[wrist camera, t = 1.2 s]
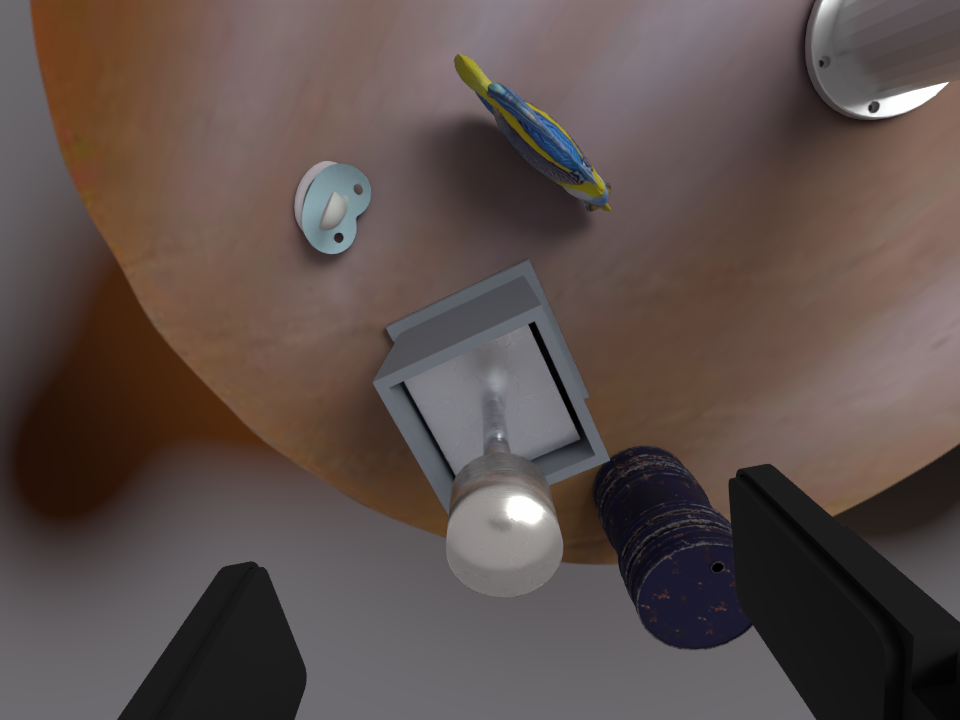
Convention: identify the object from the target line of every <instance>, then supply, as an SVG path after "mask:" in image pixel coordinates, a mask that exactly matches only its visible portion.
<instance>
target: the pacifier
mask: <svg viewBox="0 0 960 720" xmlns="http://www.w3.org/2000/svg"><path fill="white" fill-rule="evenodd" d="M356 184H360V185H361V186H362V188H363V193H362V194H361V195H357V194H356V193H355V191H354V187H355V185H356ZM370 200H371V186H370V183H369V181H368V179H367V178H366V176H365V175H364V174H363V173H362V172H361V171H360V170H358V169H357V168H355V167H353V166H351V165H348V164H341V163H340V164H337V163H335V162H331V161H324V162H320V163H318V164H316V165H314V166H313V167H312V168H311V169H309V170H308V171H307V173H306V174H305V175H304V177H303V178H302V180H301V182H300V184H299V186H298V189H297V192H296V196H295V204H294V210H295V217H296V220H297V223H298V225H299V227H300V228H301V230H302V231H303V232H304V234H305V236H306V238H307V239H308V241H309V242H310V243H311V245H312V246H313V247H315V248H316V249H317V250H319V251H321V252H323V253H327V254H337V253H340V252H342V251H344V250H346V249H347V248H348V247H349V246H350V245H351V244H352V242H353V241H354V238H355V235H356V227H357V226H356V218H357V216H358V215H360V214H361V213H362V212H364V211H365V210H366V208H367V207H368V205H369V203H370ZM336 233H341V234H343V237H344V239H343V241H342V242H341V243H337V242H336V241H335V240H334V236H335V234H336Z"/></svg>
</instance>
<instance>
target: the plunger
mask: <svg viewBox="0 0 960 720" xmlns="http://www.w3.org/2000/svg"><path fill="white" fill-rule="evenodd" d="M404 383H405V385H406V386H407V388H408V390H409V392H410V394H411V396H412V397H413V399H414V401H415V403H416V405H417V406H418V408H419V410H420V412H421V414H422V415H423V417H424V419H425V421H426V423H427V425H428V426H429V428H430V430H431V432H432V434H433V435H434V437H435V439H436V441H437V443H438V444H439V446H440V448H441V450H442V452H443V454H444V455H445V457H446V459H447V461H448V463H449V464H450V466H451V468H452V470H453V472H454V474H455V475H456V478H455V480H454V482H453V485H452V488H451V494H450V505H449V516H448V527H447V538H446V556H447V561H448V564H449V566H450V568H451V570H452V572H453V573H454V575H455V576H456V577H457V578H458V580H459V581H460V582H462V583H463V584H464V585H465V586H467V587H468V588H470V589H472V590H473V591H475V592H478V593H480V594H483V595H487V596H492V597H499V598H501V597H503V598H504V597H505V598H507V597H516V596H520V595H523V594H527V593H529V592H532V591H534V590H536V589H537V588H539V587H541V586H542V585H543V584H545V583H546V582H547V581H548V580H549V579H550V578H551V577H552V576H553V575H554V573H555V572H556V570H557V569H558V567H559V565H560V562H561V559H562V555H563V539H562V535H561V531H560V527H559V523H558V519H557V515H556V511H555V507H554V503H553V499H552V495H551V491H550V487H549V484H548V481H547V479H546V477H545V475H544V473H543V472H542V471H541V470H540V468H539V467H538V466H537V465H535V464H534V463H533V462H531V461H530V460H532V459H534V458H537V457H539V456H541V455H544V454H546V453H549V452H551V451H553V450H556V449H558V448H560V447H563V446H565V445H568V444H570V443H572V442H575V441H577V440H579V439H580V437H579V435H578V433H577V430H576V428H575V426H574V424H573V422H572V420H571V417H570V415H569V413H568V411H567V409H566V406H565V404H564V402H563V400H562V398H561V395H560V393H559V391H558V389H557V387H556V384H555V382H554V380H553V378H552V376H551V373H550V371H549V369H548V367H547V365H546V363H545V360H544V358H543V356H542V354H541V352H540V349H539V347H538V345H537V343H536V341H535V338H534V336H533V334H532V332H531V330H530V327H529V325H525V326H523V327H521V328H519V329H517V330H514V331H512V332H510V333H508V334H506V335H504V336H501V337H499V338H497V339H495V340H493V341H490V342H488V343H486V344H484V345H482V346H479V347H477V348H475V349H473V350H471V351H469V352H466V353H464V354H462V355H460V356H458V357H455V358H453V359H451V360H449V361H447V362H444V363H442V364H440V365H438V366H436V367H433V368H431V369H429V370H427V371H425V372H423V373H420V374H418V375H416V376H414V377H412V378H409V379H407V380H405V381H404Z"/></svg>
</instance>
